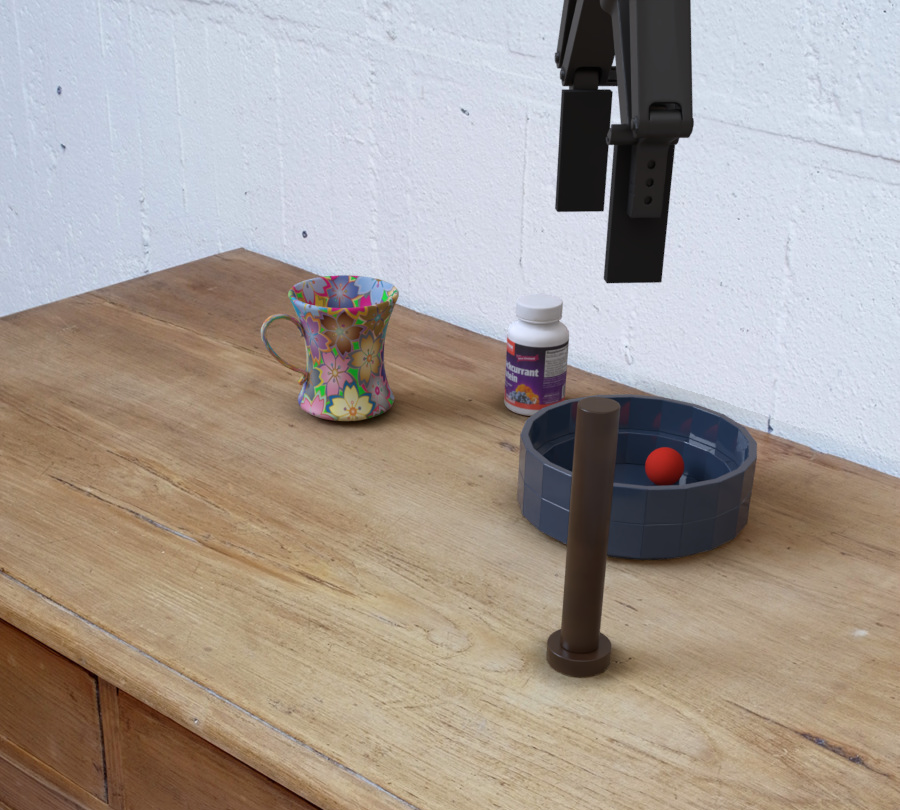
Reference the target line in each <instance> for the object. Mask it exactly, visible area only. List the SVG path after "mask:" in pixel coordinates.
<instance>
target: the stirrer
mask: <svg viewBox="0 0 900 810" xmlns="http://www.w3.org/2000/svg"><path fill="white" fill-rule="evenodd" d="M619 418H620V404H619V403H618V402H616V401H615V400H612V399H609V398H604V397H589V398H584V399H582V400H580V401H579V402H578V404H577V416H576V429H575V443H574V457H573V471H572V484H571V498H570V512H569V526H568V539H567V545H566V554H565V568H564V569H565V570H564V583H563V597H562V609H561V621H560V623H561V625H560V628H559V629H557V630H555V631H553V632H552V633H551V634H550V635H549V636H548V637H547V640H546V654H545V655H546V656H545V660H546V662H547V664H548V665H549V667H550V668H552V669H553V670H554V671H556V672H558V673H559V674H563V675H565V676H570V677H575V678H587V677H588V678H589V677H594V676H597V675H600V674H602V673H604V672H605V671H607V669H608V668H609V667H610V665H611V660H612V659H611V658H612V648H613V645H612V642H611V640H610V638H609V637H608V636H607V635H605V634H604V633H602V632H601V628H602V627H601V625H602V616H603V615H602V613H603V605H604V594H605V593H604V592H605V582H606V571H607V570H606V569H607V560H608V557H607V550H608V539H609V528H610V517H611V506H612V495H613V484H614V473H615V462H616V451H617V440H618V429H619Z"/></svg>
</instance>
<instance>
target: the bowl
mask: <svg viewBox="0 0 900 810" xmlns="http://www.w3.org/2000/svg"><path fill="white" fill-rule="evenodd" d="M589 397H604V398H609V399H612V400H615V401H616V402H618V403H619V404H620V418H619V429H618V440H617V451H616V462H615V473H614V484H613V495H612V506H611V517H610V528H609V539H608V550H607V558H612V559H613V558H614V559H622V560H633V561H662V560H664V561H665V560H675V559H680V558H685V557H690V556H694V555H697V554H701V553H705V552H710V551H712V550H714V549H717V548H718V547H721V546H723V545H724V544H727V543H729V542H731V541H733V540H734V539H736V538H737V537H738V535H739V534H740V533H741V532H742V530H744V528H745V527H746V525H747V524H748V520H749V514H750V513H749V512H750V507H751V500H752V495H753V486H754V480H755V475H756V466H757V461H758V442H757V440H755V438H754V437H753V435H752V434H751V433H750V431H749V430H748V429H747V428H746V427H745V426H743V425H742V424H740V423H738V422H737V421H735V420H734V419H733V418H730V417H729V416H728V415H726V414H724V413H722V412H718V411H716V410H713V409H710V408H709V407H708V408H707V407H705V406H702V405H699V404H697V403H692V402H689V401H688V402H687V401H684V400H679V399H674V398H670V397H664V396H654V395H644V394H643V395H642V394H631V393H624V394H623V393H622V394H621V393H619V394H595V395H589V396H588V395H587V396H581V397H576V398H575V397H574V398H569V399H565V400H564V401H561V402H559V403H556V404H553V405H550V406H547V407H544V408H542V409H541V410H539V411H538V412H536V413H535V414H534V415H532V416H529V417H528V418H527V419H526V420H525V422H524V424H523V427H522V429H521V431H520V434H519V454H518V473H517V493H516V500H517V503H518V506H519V509H520V512H521V515H522V516H523V517H524V518H525V519H526V520H527V521H528V522H529V523H530V524H532V525H533V526H534V527H535V529H537V530H538V531H539V532H541V533H542V534H545V535H547V536H548V537H551V538H553V539H554V540H556V541H558V542H560V543H562V544H564V545H566V546H567V539H568V526H569V512H570V498H571V484H572V471H573V457H574V443H575V429H576V416H577V404H578V402H579V401H580V400H582V399H584V398H589ZM662 447H668V448H672V449H674V450H676V451H677V452H678V453H679V454H680V455H681V457H682V458H683V461H684V472H683V474H682V476H681V478H680V479H679V480H678V481H677V482H676V483H674V484H672V485H668V486H660V485H656V484H655V483H653V482H652V481H651V480H650V479H649V478H648V476H647V474H646V471H645V463H646V460H647V458H648V456H649V455H650V454H651V453H652V452H653V451H654V450H656V449H658V448H662Z"/></svg>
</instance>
